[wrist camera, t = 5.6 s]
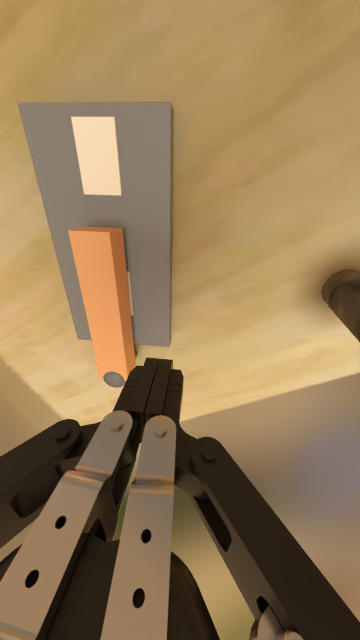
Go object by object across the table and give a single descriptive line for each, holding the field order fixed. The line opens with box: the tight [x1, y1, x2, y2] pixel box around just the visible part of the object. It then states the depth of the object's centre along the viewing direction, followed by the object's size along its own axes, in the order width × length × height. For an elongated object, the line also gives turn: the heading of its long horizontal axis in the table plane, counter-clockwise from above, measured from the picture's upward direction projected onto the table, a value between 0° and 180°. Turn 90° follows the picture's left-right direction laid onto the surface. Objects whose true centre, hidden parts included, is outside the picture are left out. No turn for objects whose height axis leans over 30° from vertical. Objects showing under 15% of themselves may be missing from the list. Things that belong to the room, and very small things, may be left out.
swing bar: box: [68, 226, 136, 387], centre depth 26 cm, size 20×4×4 cm, turn 178°
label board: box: [18, 103, 173, 358], centre depth 26 cm, size 30×14×2 cm, turn 178°
